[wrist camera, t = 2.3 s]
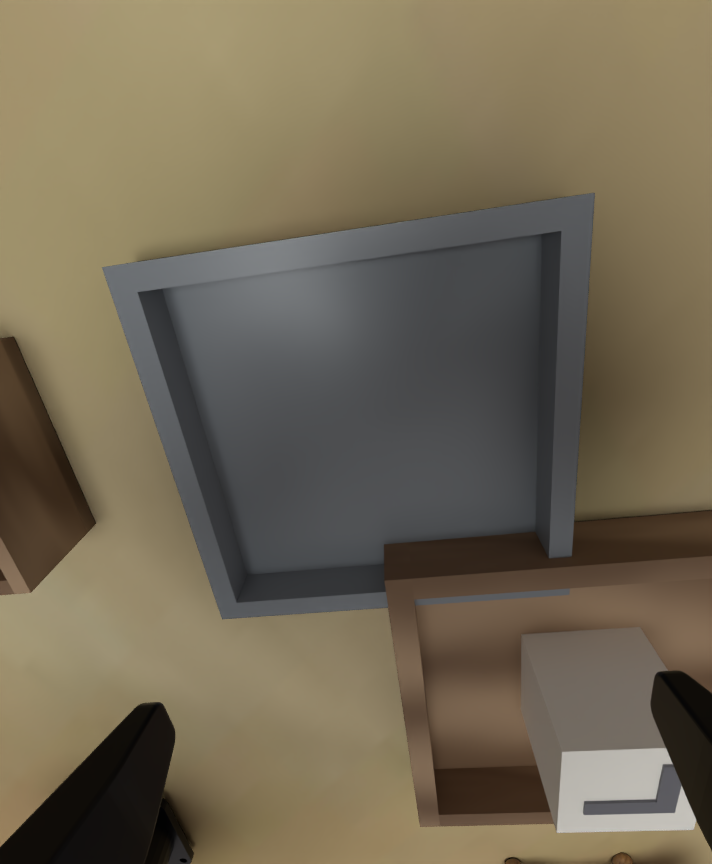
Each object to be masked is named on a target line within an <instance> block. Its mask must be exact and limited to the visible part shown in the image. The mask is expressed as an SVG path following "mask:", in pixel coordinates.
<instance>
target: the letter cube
mask: <svg viewBox="0 0 712 864" xmlns="http://www.w3.org/2000/svg"><path fill="white" fill-rule="evenodd" d="M659 671H668V670H667V668H666V667H665V665H664V663H663V662H662V660H661V659H660V657H659V656H658V654H657V653H656V651H655V650H654V648H653V646H652V645H651V643H650V642H649V640H648V639H647V637H646V636H645V634H644V633H643V631H642V629H641V628H640V627H631V628H615V629H599V630H583V631H567V632H551V633H535V634H521V712H522V715H523V719H524V722H525V726H526V729H527V732H528V736H529V739H530V743H531V746H532V750H533V753H534V756H535V760H536V763H537V767H538V770H539V774H540V777H541V780H542V784H543V787H544V791H545V794H546V798H547V801H548V804H549V808H550V811H551V815H552V818H553V822H554V825H555V828H556V832H557V833H566V832H613V831H659V830H694V826H695V822H696V818H695V816H694V814H693V811H692V809H691V807H690V805H689V802H688V800H687V797H686V795H685V793H684V790H683V788H682V785H681V783H680V781H679V778H678V776H677V773H676V771H675V769H674V766H673V764H672V761H671V759H670V757H669V754H668V752H667V749H666V747H665V745H664V742H663V740H662V737H661V735H660V733H659V730H658V728H657V725H656V723H655V721H654V718H653V715H652V712H651V706H650V701H651V694H652V688H653V682H654V677H655V674H656V673H657V672H659Z"/></svg>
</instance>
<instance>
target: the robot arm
mask: <svg viewBox="0 0 712 864" xmlns="http://www.w3.org/2000/svg"><path fill="white" fill-rule="evenodd" d="M650 706H651V712H652V715H653V718H654V721H655V723H656V725H657V728H658V730H659V733H660V735H661V737H662V740H663V742H664V745H665V747H666V749H667V752H668V754H669V757H670V759H671V761H672V764H673V766H674V769H675V771H676V773H677V776H678V778H679V781H680V783H681V785H682V788H683V790H684V793H685V795H686V797H687V800H688V802H689V805H690V807H691V809H692V811H693V814H694V816H695V818H696V821H697V823H698V825H699V827H700V829H701V831H702V833H703V835H704V837H705V839H706V841H707V843H708V844H709V846H710V848H711V850H712V693H711V692H710V691H709V690H707V689H706V688H705V687H703V686H702V685H701V684H700V683H698V682H697V681H696V680H694V679H693V678H692V677H691V676H689V675H688V674H686V673H685V672H682V671H679V670H673V671H659V672H657V673H656V674H655V677H654V682H653V688H652V694H651V701H650ZM174 743H175V729H174V726H173V724H172V722H171V720H170V718H169V715H168V713H167V711H166V709H165V707H164V705H163V704H162V703H160V702H152V703H142V704H140V705H138V706H137V707H136V708H135V709H134V710H133V711H132V712H131V713H130V714H129V715H128V716H127V717H126V718H125V719H124V720H123V721H122V722H121V723H120V724H119V725H118V726H117V727H116V728H115V729H114V730H113V731H112V732H111V733H110V734H109V735H108V736H107V737H106V738H105V739H104V741H103V742H102V743H101V744H100V745H99V746H98V747H97V748H96V749H95V750H94V751H93V752H92V753H91V754H90V755H89V756H88V757H87V758H86V759H85V760H84V761H83V762H82V763H81V764H80V765H79V766H78V767H77V768H76V769H75V770H74V771H73V773H72V774H71V775H70V776H69V777H68V778H67V779H66V780H65V781H64V782H63V783H62V784H61V785H60V786H59V787H58V788H57V789H56V790H55V791H54V792H53V793H52V794H51V795H50V796H49V797H48V798H47V799H46V800H45V801H44V802H43V803H42V804H41V806H40V807H39V808H38V809H37V810H36V811H35V812H34V813H33V814H32V815H31V816H30V817H29V818H28V819H27V820H26V821H25V822H24V823H23V824H22V825H21V826H20V827H19V828H18V829H17V830H16V831H15V832H14V833H13V834H12V835H11V836H10V838H9V839H8V840H7V841H6V842H5V843H4V844H3V845H2V846H1V847H0V864H190V863H191V862H192V858H193V855H194V853H193V851H192V849H191V847H190V845H189V843H188V841H187V839H186V837H185V835H184V833H183V831H182V829H181V827H180V826H179V824H178V822H177V820H176V818H175V816H174V814H173V812H172V810H171V808H170V806H169V804H168V802H167V801H166V800H165V799H163V798H162V795H163V791H164V787H165V782H166V778H167V774H168V769H169V765H170V761H171V757H172V752H173V748H174Z"/></svg>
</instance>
